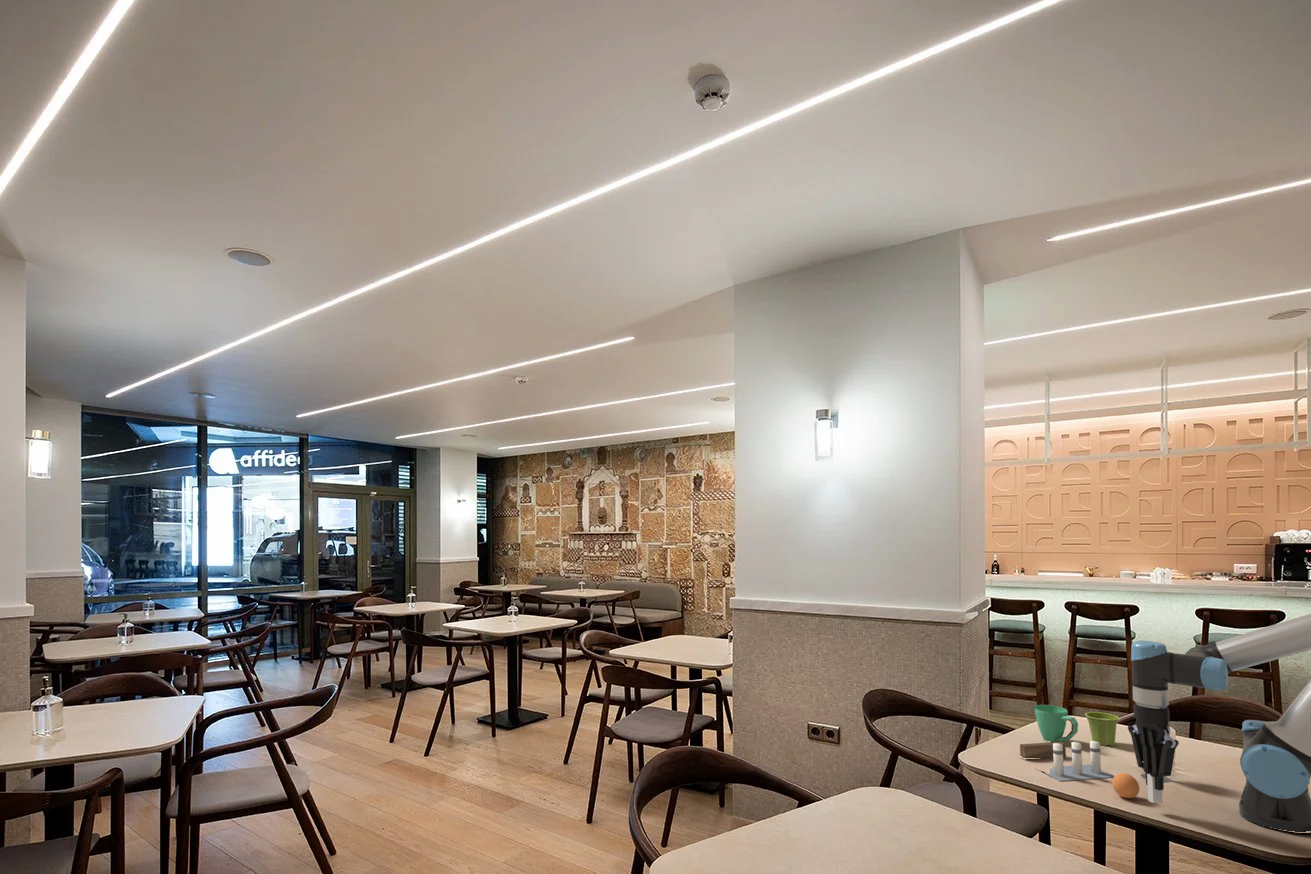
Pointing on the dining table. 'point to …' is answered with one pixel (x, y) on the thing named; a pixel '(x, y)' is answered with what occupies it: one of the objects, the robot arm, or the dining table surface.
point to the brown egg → (1125, 785)
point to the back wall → (1039, 750)
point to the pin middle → (1077, 758)
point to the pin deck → (1086, 775)
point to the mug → (1054, 722)
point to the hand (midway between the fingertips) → (1155, 801)
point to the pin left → (1058, 759)
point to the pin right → (1095, 757)
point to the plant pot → (1102, 727)
